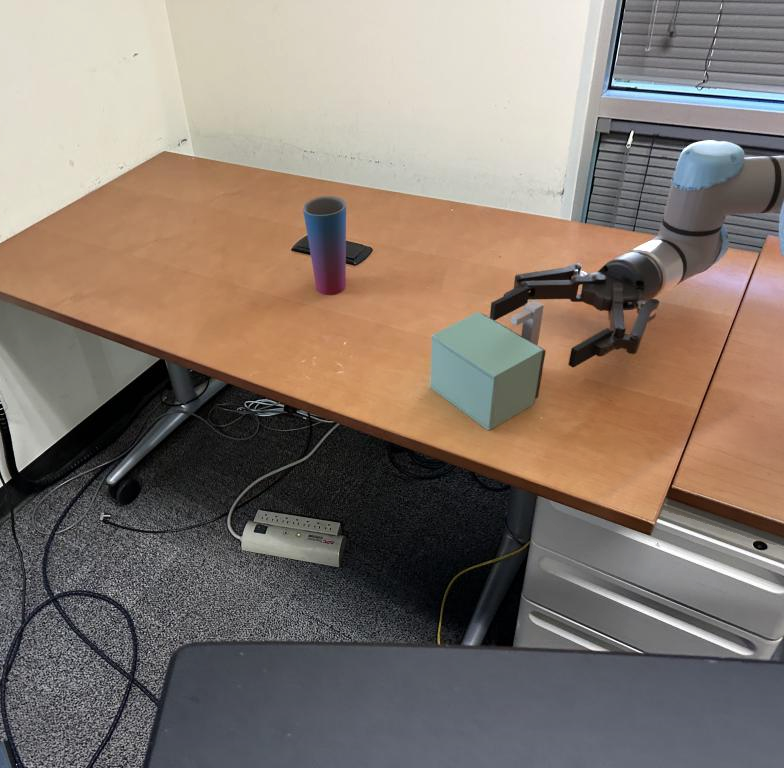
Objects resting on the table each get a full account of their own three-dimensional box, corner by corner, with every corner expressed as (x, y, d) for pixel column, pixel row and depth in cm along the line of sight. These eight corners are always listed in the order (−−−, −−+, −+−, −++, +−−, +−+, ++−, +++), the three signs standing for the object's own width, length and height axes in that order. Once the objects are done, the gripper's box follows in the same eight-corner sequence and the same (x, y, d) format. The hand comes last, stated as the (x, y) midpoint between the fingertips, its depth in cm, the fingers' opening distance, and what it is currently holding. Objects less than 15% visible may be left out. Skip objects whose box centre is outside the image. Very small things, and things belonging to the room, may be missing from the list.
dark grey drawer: (500, 346, 98) (507, 285, 92) (561, 384, 91) (573, 320, 84) (435, 381, 94) (438, 319, 88) (493, 423, 87) (501, 359, 80)
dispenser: (473, 364, 97) (477, 311, 91) (534, 404, 89) (543, 349, 84) (430, 387, 94) (431, 334, 89) (488, 431, 87) (494, 376, 81)
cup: (354, 277, 119) (350, 196, 109) (346, 298, 114) (340, 216, 104) (316, 275, 121) (309, 195, 111) (306, 296, 116) (297, 215, 106)
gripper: (715, 336, 91) (605, 403, 84) (563, 266, 109) (462, 316, 102) (732, 288, 86) (617, 355, 79) (570, 222, 104) (465, 272, 97)
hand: (530, 333), depth 91 cm, fingers open, 13 cm apart
